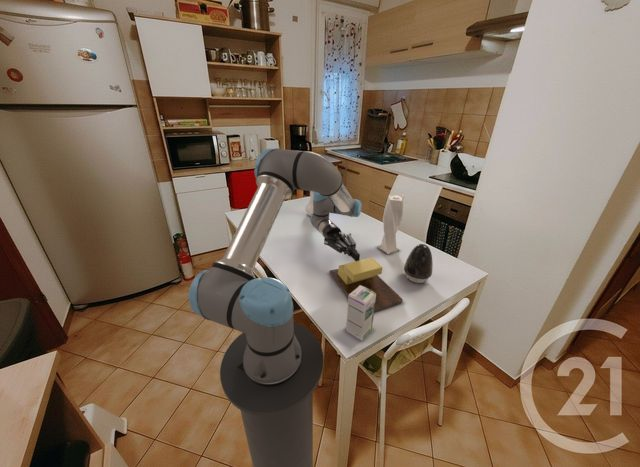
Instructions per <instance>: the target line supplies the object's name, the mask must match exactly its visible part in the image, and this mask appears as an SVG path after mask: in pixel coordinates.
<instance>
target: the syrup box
mask: <svg viewBox="0 0 640 467" xmlns="http://www.w3.org/2000/svg"><path fill="white" fill-rule="evenodd" d="M375 299H376V293H375V292H373V291H371V290H370V289H368V288H366V287H363V286H361V285H359V286H358V287H357V288H356V289H355V290H353V291H352V292H351V293H350V294H349V296H348V297H347V312H346V314H347V315H346V332H347V333H349V334H350V335H352V336H354V337H355V338H357V339H358V340H359V341H363V340H364V339H365V338H366V337H367V336H368V335H369V333H370V332H371V331H372V330H373V325H374V324H373V323H374V315H375V312H374V308H375Z"/></svg>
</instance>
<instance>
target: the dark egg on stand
mask: <svg viewBox="0 0 640 467" xmlns="http://www.w3.org/2000/svg"><path fill="white" fill-rule="evenodd" d="M433 263H434V262H433V254H432V251H431V249H430V247H429V246H428V245H427V244H424V243H419V244H417V245H416V246H414V247H413V249H412V250H411V252H409V254H408V256H407V258H406V260H405V263H404V266H403V271H404V275H405V276H406V278H407V279H408V280H409V281H411V282H412V283H416V284H421V283H425V282H427V281H428V280H429V279H430V278H431V276H432V275H433V268H434V266H433Z"/></svg>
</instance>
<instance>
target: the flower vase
mask: <svg viewBox="0 0 640 467" xmlns="http://www.w3.org/2000/svg"><path fill="white" fill-rule="evenodd" d="M313 196H314V192H313V191H309V202H308V203H307V204H306V205H305V207H304V211H305V213H306V214H307V216H309V217H311V215H312V214H313Z"/></svg>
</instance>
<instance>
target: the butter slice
mask: <svg viewBox="0 0 640 467" xmlns="http://www.w3.org/2000/svg"><path fill="white" fill-rule="evenodd" d="M343 265H344V272H345V273H346V274H347V275H348V277H349V278H350V279H351V280H352V281H353V282H354V281H358V280H361V279H365V278H368V277H372V276H375V275H378V276H379V275H382V274H383V266H382V265H381V264H380V263H379V262H377V261H376V260H375V259H374V258H373V257H368V258H363V259H359V261H355V260H354V261H351V262H347V263H344V264H343Z"/></svg>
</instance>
